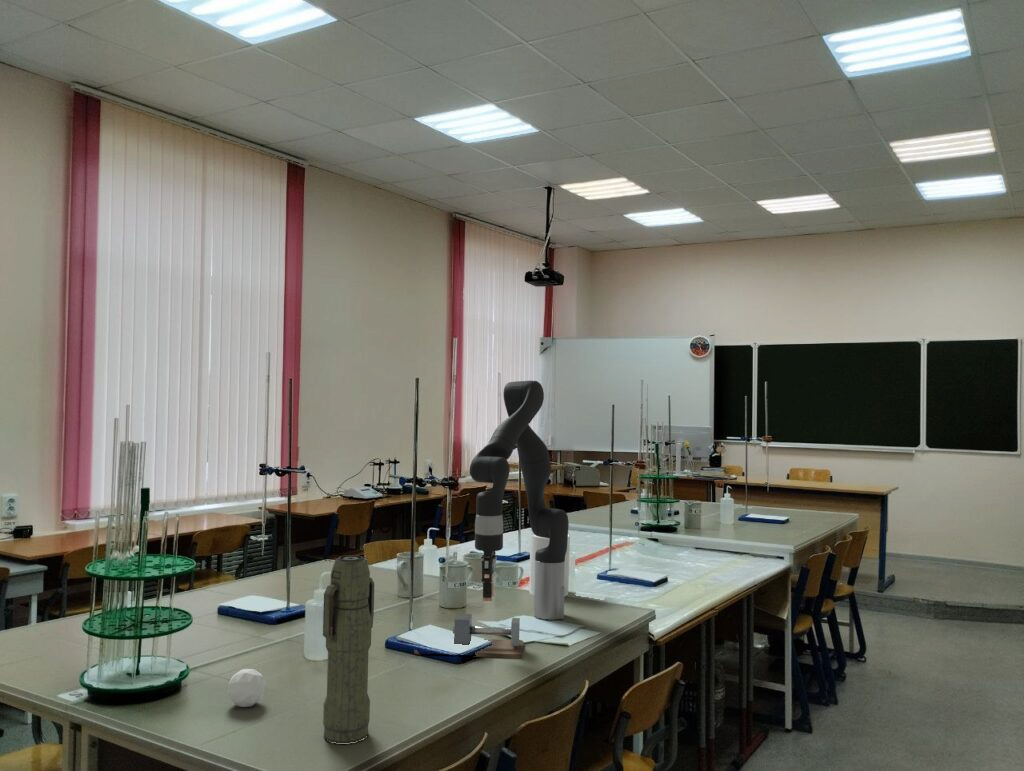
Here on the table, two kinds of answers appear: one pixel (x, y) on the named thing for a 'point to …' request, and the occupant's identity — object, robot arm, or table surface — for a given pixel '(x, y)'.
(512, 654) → the base plank
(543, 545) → the canister
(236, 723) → the table surface
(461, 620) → the grey upright block
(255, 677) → the geometric ball
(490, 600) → the block
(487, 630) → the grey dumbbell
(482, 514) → the robot arm
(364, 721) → the thermos
